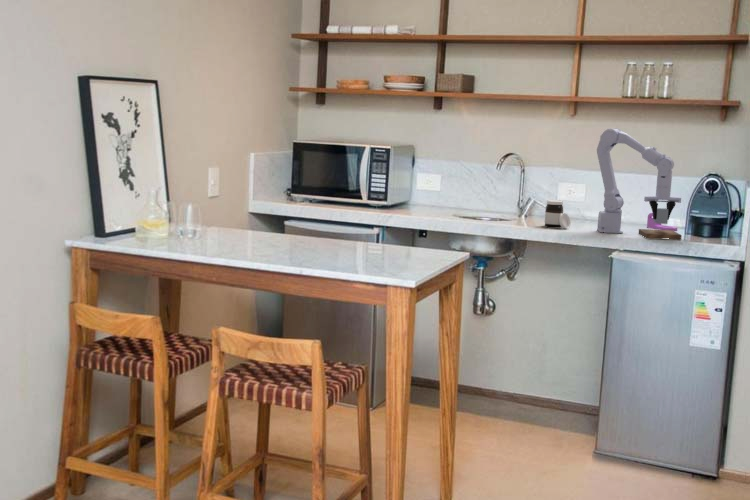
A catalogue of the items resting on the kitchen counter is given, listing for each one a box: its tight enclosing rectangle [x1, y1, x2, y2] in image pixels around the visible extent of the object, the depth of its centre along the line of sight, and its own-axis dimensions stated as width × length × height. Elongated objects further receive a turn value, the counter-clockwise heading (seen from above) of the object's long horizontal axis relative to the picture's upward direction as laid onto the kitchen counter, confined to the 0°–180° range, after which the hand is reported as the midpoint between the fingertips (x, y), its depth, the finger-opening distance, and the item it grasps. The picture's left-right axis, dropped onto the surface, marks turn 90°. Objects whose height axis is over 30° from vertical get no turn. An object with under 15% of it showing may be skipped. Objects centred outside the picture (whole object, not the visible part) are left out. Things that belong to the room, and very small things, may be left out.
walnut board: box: [638, 228, 682, 240], centre depth 355 cm, size 14×14×2 cm
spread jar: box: [544, 199, 572, 230], centre depth 374 cm, size 12×11×12 cm
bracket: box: [646, 212, 678, 232], centre depth 379 cm, size 13×6×7 cm, turn 40°
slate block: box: [654, 207, 669, 225], centre depth 354 cm, size 4×4×6 cm
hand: (660, 219), depth 354 cm, fingers closed on slate block, 4 cm apart
